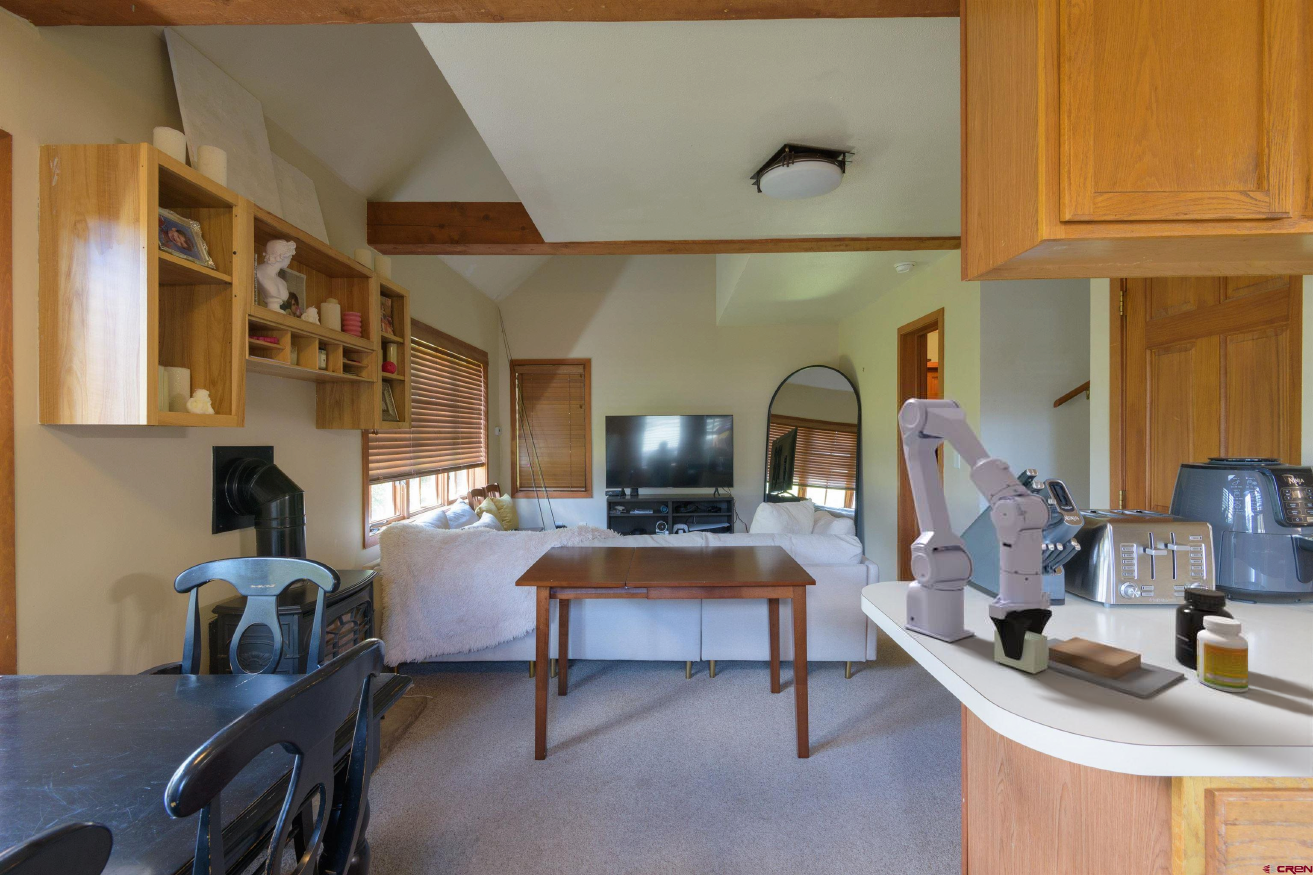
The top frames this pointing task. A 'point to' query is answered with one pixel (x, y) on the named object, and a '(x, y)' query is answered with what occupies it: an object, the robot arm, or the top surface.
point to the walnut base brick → (1095, 657)
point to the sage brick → (1025, 653)
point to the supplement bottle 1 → (1195, 621)
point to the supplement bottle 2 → (1222, 655)
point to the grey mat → (1133, 683)
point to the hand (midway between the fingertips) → (1020, 655)
